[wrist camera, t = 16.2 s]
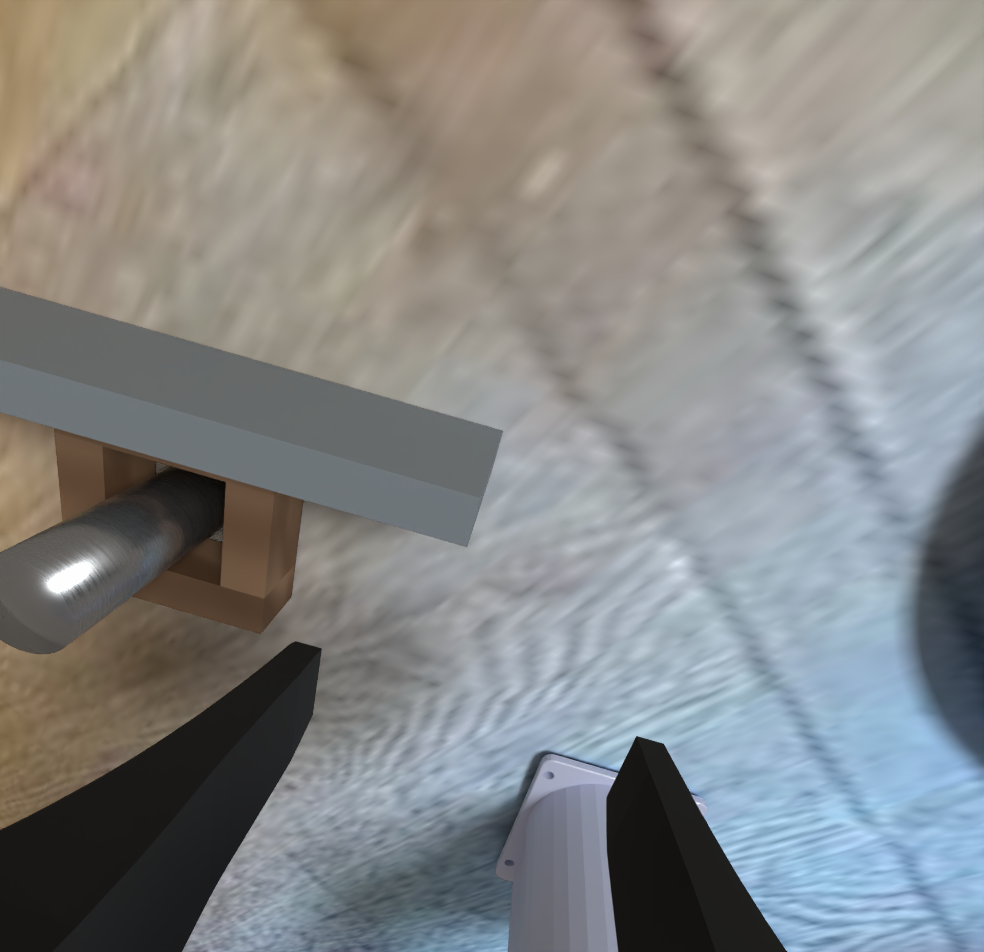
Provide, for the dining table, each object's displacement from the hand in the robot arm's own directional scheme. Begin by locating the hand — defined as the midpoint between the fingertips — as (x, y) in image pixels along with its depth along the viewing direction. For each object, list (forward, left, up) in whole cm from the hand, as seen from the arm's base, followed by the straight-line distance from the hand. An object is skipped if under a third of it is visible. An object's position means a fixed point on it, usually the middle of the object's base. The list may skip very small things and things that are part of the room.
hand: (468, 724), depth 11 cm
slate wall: (+3, +11, -9) cm, 15 cm away
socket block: (-2, +12, -9) cm, 15 cm away
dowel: (-2, +12, -9) cm, 15 cm away
